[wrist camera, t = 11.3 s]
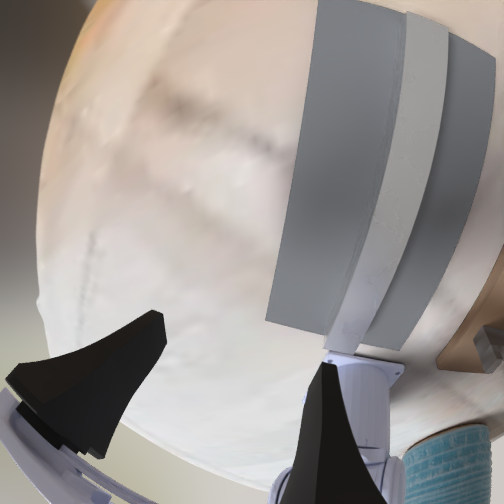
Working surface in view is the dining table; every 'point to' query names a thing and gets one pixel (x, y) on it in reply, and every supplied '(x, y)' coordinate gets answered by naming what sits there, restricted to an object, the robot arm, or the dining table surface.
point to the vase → (450, 467)
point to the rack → (480, 330)
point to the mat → (373, 171)
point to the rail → (394, 179)
